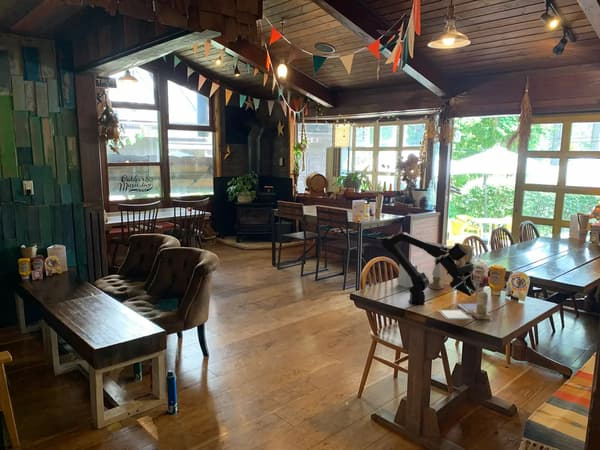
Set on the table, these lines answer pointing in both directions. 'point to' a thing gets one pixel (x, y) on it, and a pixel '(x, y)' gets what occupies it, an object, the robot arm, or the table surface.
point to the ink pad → (468, 307)
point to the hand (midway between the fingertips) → (473, 293)
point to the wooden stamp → (481, 307)
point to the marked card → (454, 314)
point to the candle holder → (436, 276)
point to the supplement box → (405, 277)
